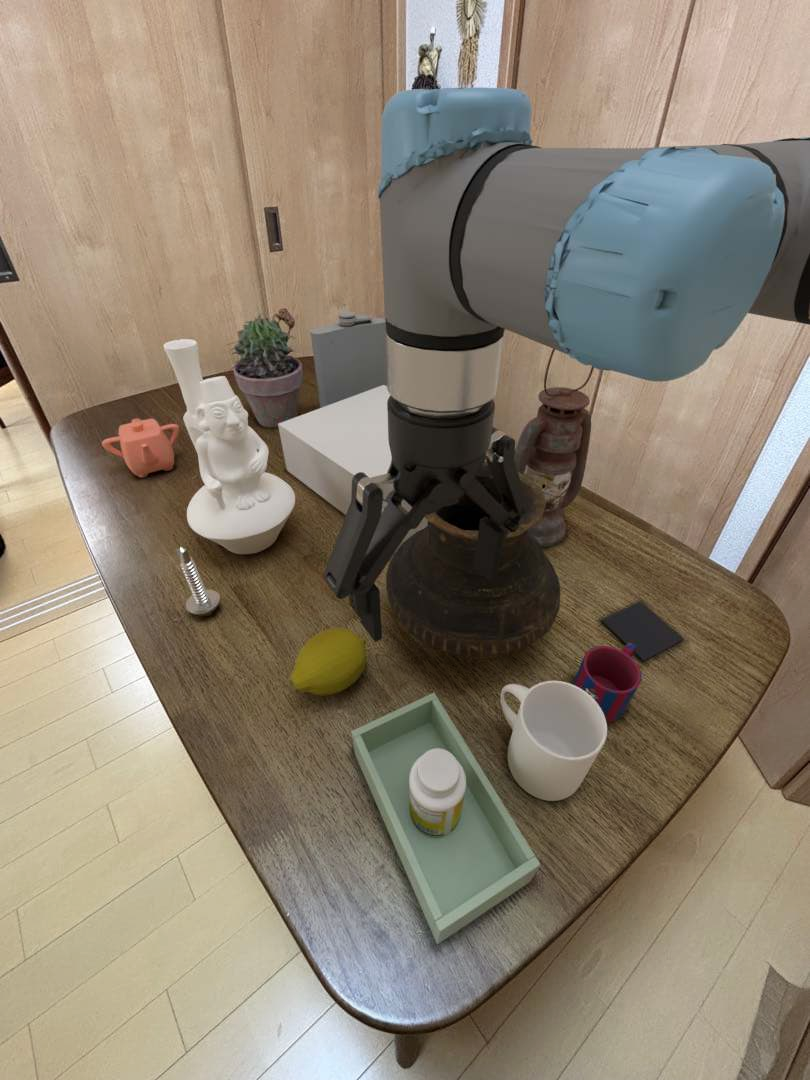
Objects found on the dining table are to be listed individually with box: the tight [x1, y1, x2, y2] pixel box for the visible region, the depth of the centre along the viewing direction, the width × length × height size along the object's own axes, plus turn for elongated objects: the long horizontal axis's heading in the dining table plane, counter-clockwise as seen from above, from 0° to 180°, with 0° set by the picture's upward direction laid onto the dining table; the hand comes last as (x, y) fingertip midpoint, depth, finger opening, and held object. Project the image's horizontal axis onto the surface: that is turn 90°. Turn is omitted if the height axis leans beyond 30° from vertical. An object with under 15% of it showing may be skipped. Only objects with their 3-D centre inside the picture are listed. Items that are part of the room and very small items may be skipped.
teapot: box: [101, 418, 180, 478], centre depth 101 cm, size 14×12×10 cm
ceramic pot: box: [385, 461, 561, 659], centre depth 65 cm, size 24×24×22 cm
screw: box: [175, 546, 221, 618], centre depth 69 cm, size 13×5×5 cm
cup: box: [571, 642, 642, 724], centre depth 61 cm, size 7×10×7 cm
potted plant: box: [224, 308, 307, 429], centre depth 112 cm, size 18×20×25 cm
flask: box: [309, 310, 387, 409], centre depth 112 cm, size 17×5×25 cm, turn 119°
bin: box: [351, 692, 541, 945], centre depth 50 cm, size 20×11×6 cm, turn 27°
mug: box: [500, 680, 608, 802], centre depth 53 cm, size 9×12×11 cm
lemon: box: [289, 626, 367, 696], centre depth 62 cm, size 11×8×8 cm
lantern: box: [514, 348, 595, 549], centre depth 76 cm, size 11×16×35 cm
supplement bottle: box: [409, 748, 466, 837], centre depth 48 cm, size 6×6×10 cm
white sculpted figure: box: [162, 338, 296, 555], centre depth 77 cm, size 18×22×32 cm
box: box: [277, 385, 487, 554], centre depth 96 cm, size 28×35×11 cm
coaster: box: [600, 601, 685, 663], centre depth 70 cm, size 8×8×1 cm
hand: (431, 600), depth 47 cm, fingers open, 13 cm apart
